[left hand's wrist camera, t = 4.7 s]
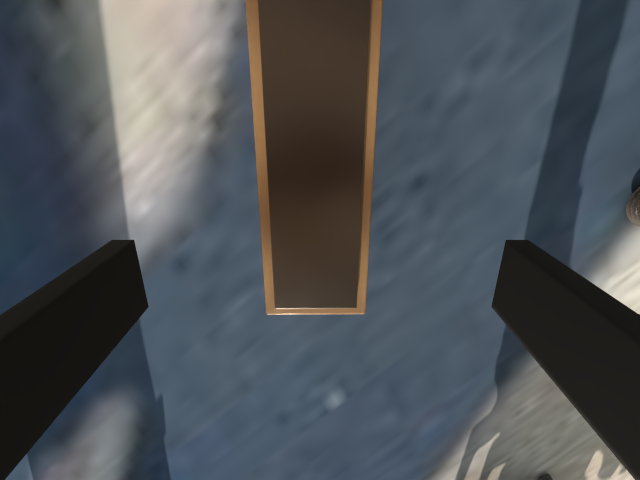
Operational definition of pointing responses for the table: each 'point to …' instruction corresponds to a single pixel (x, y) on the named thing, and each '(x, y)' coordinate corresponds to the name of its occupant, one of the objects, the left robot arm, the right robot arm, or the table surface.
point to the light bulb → (634, 208)
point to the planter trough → (314, 148)
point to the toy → (546, 478)
